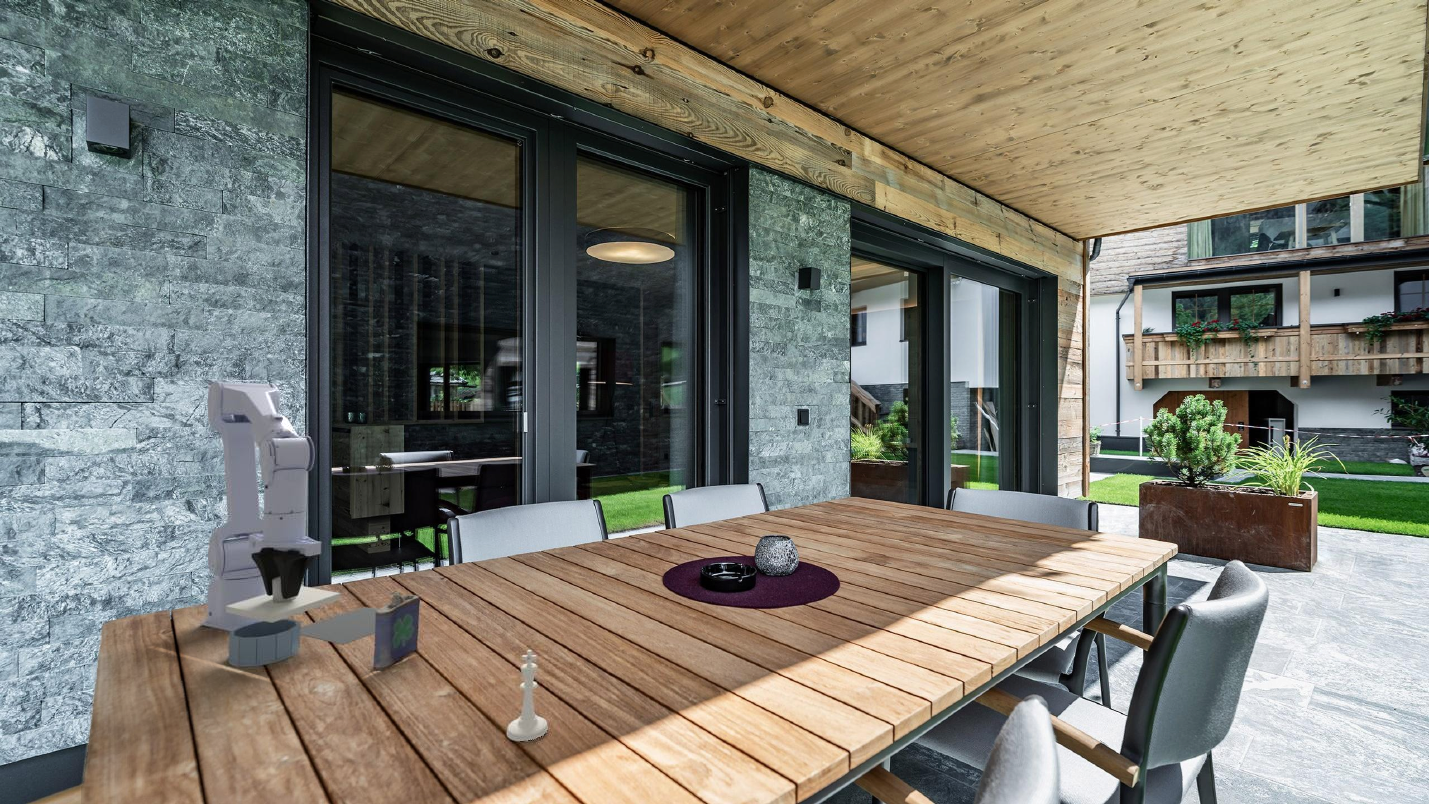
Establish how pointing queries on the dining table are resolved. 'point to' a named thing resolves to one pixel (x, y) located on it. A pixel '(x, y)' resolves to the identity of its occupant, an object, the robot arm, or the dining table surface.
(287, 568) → the robot arm
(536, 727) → the chess piece
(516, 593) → the dining table surface
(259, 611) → the lid
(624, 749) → the dining table surface
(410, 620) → the flask
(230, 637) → the bowl
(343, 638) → the mat
